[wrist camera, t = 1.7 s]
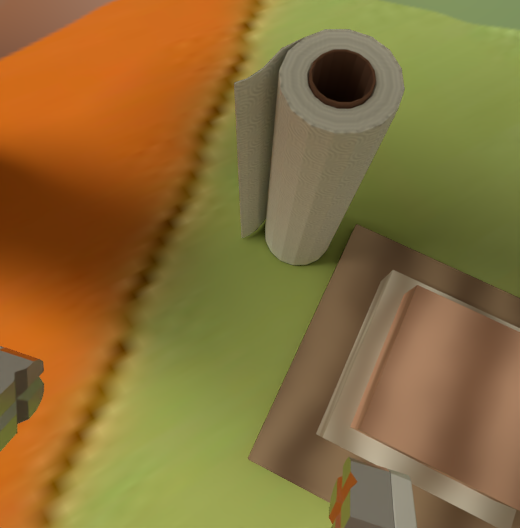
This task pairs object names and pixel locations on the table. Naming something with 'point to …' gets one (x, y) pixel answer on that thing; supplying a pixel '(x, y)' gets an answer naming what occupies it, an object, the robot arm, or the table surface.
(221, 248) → the table surface
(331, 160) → the paper towel roll
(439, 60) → the table surface
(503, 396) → the brown square stepped pedestal
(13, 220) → the table surface
